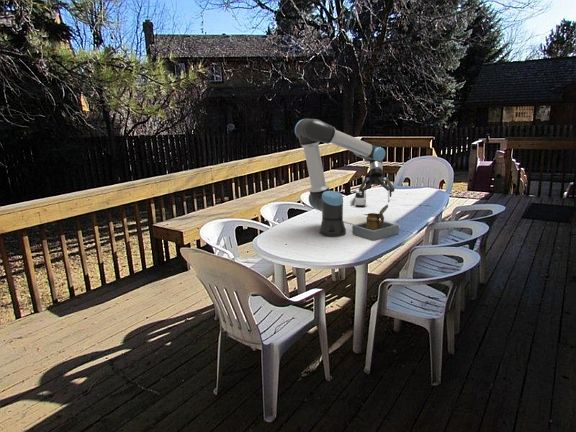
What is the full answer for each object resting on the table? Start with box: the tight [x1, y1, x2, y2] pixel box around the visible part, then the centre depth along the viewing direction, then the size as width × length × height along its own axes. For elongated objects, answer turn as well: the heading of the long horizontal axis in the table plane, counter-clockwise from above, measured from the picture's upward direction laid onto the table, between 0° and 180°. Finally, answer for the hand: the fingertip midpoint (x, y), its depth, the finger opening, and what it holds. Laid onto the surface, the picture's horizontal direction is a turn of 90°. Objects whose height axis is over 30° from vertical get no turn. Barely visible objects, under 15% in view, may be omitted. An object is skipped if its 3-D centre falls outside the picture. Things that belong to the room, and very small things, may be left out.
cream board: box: [343, 214, 367, 226], centre depth 271 cm, size 18×18×1 cm
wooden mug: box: [366, 204, 389, 231], centre depth 238 cm, size 9×14×18 cm, turn 50°
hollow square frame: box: [351, 219, 399, 241], centre depth 240 cm, size 20×16×5 cm
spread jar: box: [349, 189, 367, 208], centre depth 309 cm, size 12×11×12 cm
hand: (376, 201), depth 245 cm, fingers open, 13 cm apart
